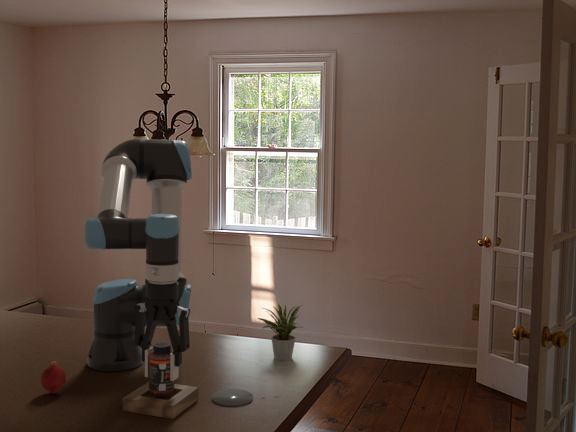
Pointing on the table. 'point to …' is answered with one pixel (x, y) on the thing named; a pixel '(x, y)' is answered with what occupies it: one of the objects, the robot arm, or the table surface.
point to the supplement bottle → (160, 369)
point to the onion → (53, 378)
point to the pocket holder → (160, 401)
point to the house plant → (282, 333)
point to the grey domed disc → (232, 397)
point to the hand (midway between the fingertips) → (161, 376)
